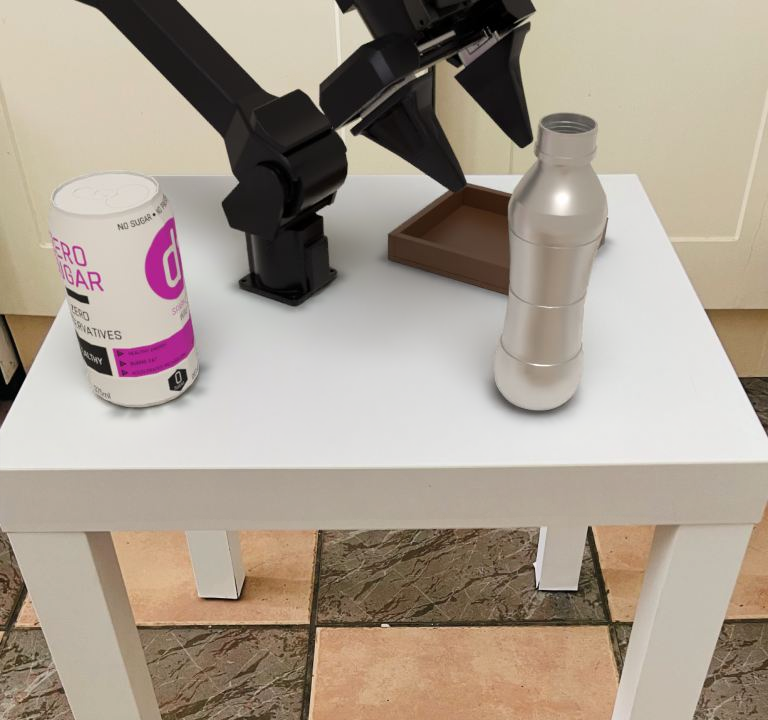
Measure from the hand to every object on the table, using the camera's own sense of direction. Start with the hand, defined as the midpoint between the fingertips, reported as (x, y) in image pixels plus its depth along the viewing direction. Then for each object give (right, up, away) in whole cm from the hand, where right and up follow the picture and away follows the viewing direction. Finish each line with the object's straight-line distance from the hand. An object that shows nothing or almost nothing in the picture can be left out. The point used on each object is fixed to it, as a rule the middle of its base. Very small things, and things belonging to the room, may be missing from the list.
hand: (496, 166), depth 63 cm
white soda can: (-26, -14, +7) cm, 30 cm away
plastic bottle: (+4, -15, +5) cm, 17 cm away
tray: (+3, 0, +22) cm, 23 cm away
